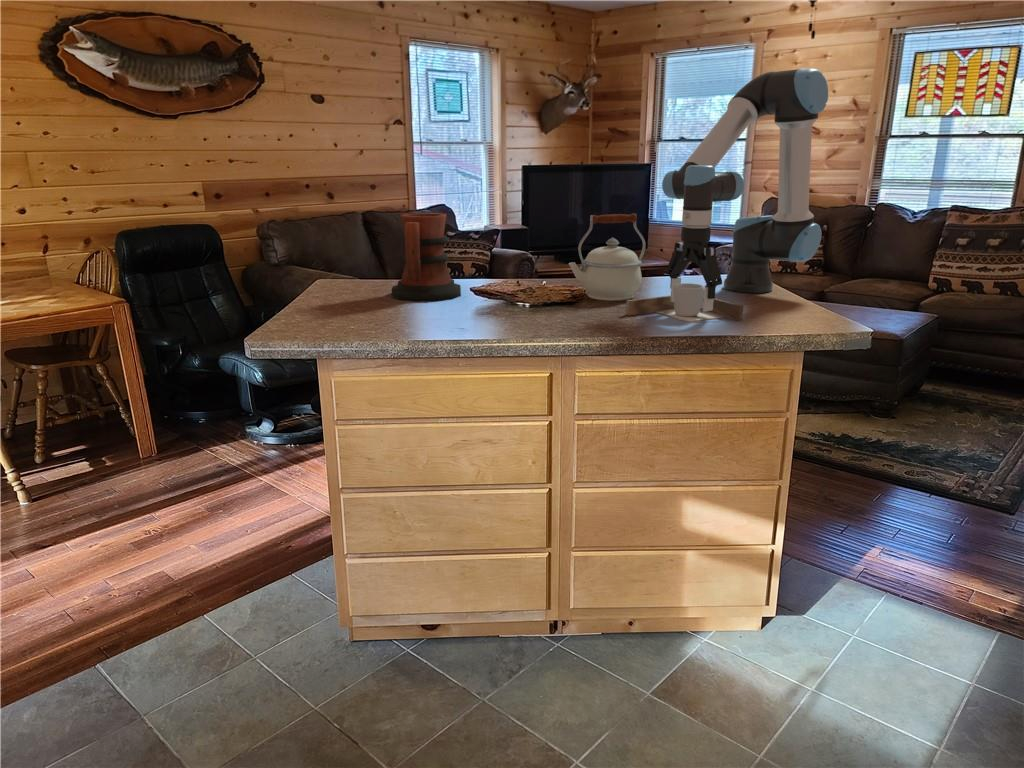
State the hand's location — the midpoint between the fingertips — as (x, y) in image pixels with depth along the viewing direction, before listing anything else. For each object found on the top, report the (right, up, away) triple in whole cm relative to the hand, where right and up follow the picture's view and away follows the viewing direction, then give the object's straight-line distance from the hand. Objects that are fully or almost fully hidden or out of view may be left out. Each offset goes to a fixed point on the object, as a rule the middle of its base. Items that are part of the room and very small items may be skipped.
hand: (690, 306), depth 199 cm
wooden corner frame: (-3, -3, -2) cm, 5 cm away
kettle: (-20, +5, +27) cm, 34 cm away
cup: (0, -3, 0) cm, 3 cm away
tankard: (-76, +6, +29) cm, 81 cm away
